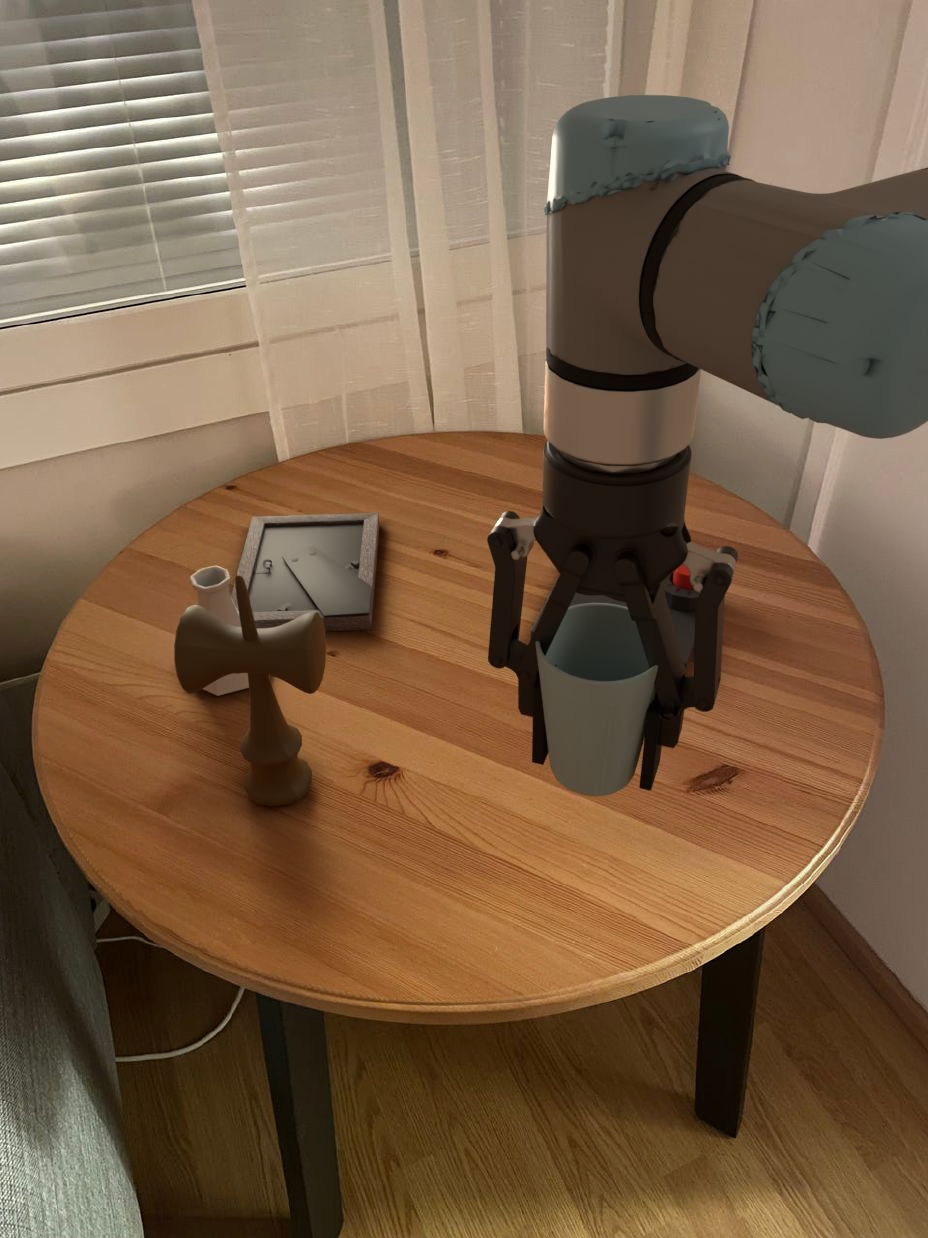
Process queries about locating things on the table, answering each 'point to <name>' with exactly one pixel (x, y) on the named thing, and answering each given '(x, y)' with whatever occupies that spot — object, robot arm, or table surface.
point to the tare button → (682, 578)
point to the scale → (679, 607)
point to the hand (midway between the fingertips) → (595, 761)
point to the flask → (219, 602)
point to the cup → (595, 698)
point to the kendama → (257, 686)
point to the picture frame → (311, 569)
